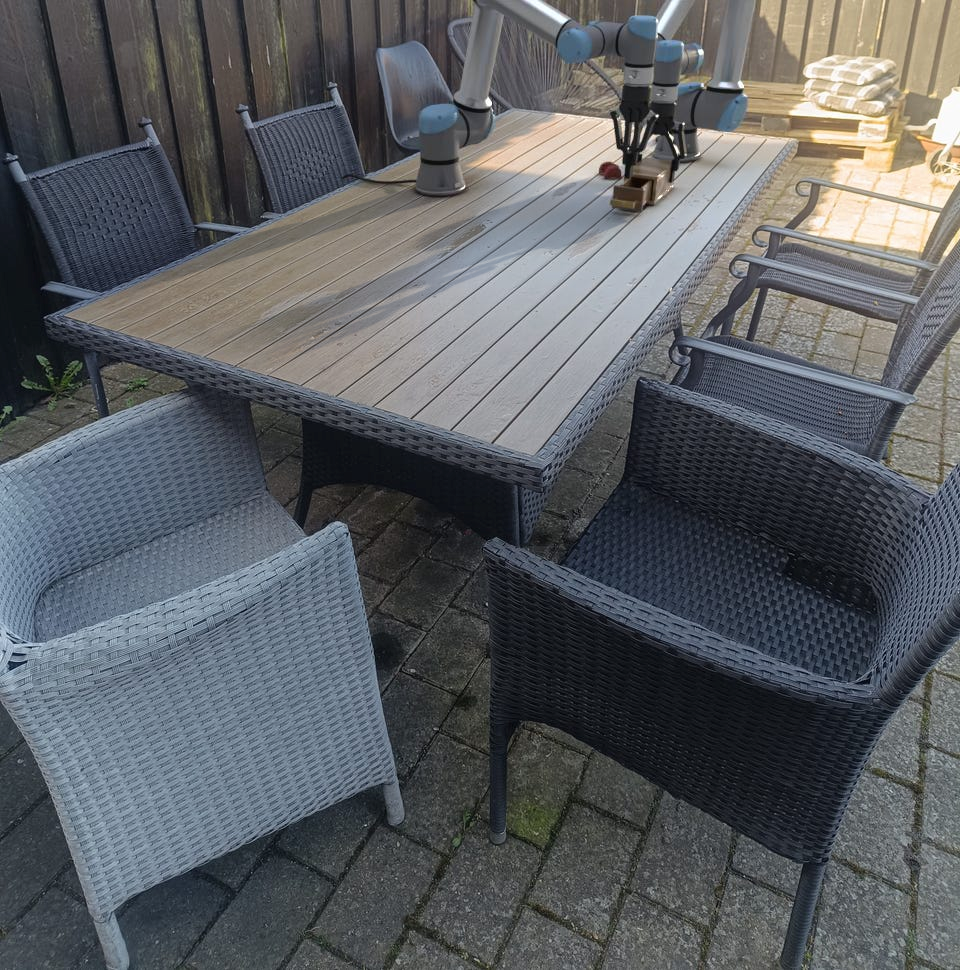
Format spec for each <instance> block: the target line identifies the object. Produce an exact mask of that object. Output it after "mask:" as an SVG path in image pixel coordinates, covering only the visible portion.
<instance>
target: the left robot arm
mask: <svg viewBox="0 0 960 970" xmlns="http://www.w3.org/2000/svg"><path fill="white" fill-rule="evenodd" d="M471 1H472V2H473V3H474V6H473V13H472V17H471V22H470V23H471V24H470V29H469V35H468V41H467V46H466V53H465V58H464V65H463V70H462V76H461V82H460V88H459V90H457V91H456V92H455V93H454V94H453V99H452V104H451V103H438V104H431V105H428V106H426V107H424V108H423V109H422V110H421V111H420V112H419V114H418V115H419V116H418V126H417V127H418V137H419V138H418V139H419V157H420V158H419V159H420V161H419V162H420V164H419V168H418V172H417V176H416V179H404V180H375V179H370V178H364V177H362V176H359V175H357V174H354V173H347V174H344V175H343V176H342V177H341V180H345V179H346V178H348V177H350V178H355V179H357V180H360V181H363V182H368V183H372V184H379V185H397V184H398V185H399V184H412V183H415V192H417V193H418V194H420V195H424V196H430V197H450V196H455V195H459V194H461V193H463V192H464V191H466V181H465V179H464V176H463V172H462V169H461V165H460V149H463V148H466V147H470V146H473V145H479V144H480V143H482V142H484V141H486V140H487V139H488V138H489V137H490V136H491V135H492V133H493V131H494V129H495V126H496V115H495V114H494V109H493V107H492V103H493V102H492V101H491V99H490V97H489V94H490V88H491V83H492V77H493V72H494V68H495V63H496V62H495V61H496V58H497V53H498V48H499V44H500V43H499V42H500V39H501V38H500V37H501V32H502V28H503V21H504V17H506V18H507V19H508V20H510V21H512V22H514V23H515V24H517V25H518V26H520V27H521V28H523V29H525V30H527V31H528V32H529V33H531V34H533V35H535V37H536V38H537V37H538V38H539V39H540V40H542V41H543V42H545V43H547V44H548V45H550V46H551V47H553V48H554V49H556V50H557V53H558V55H559V57H560V59H561V60H562V61H564V62H565V63H567V64H580V63H583V62H585V61H589V60H593V59H598V58H601V57H607V56H611V57H620V58H621V57H622V58H624V69H623V77H622V78H623V79H622V81H623V85H622V88H621V89H622V90H621V99H620V104H619V105H618V107H617V108H616V109H613V110H612V111H610V113H609V114H610V118H611V119H612V122H613V123H612V124H613V130H614V138H615V146H616V150H618V151H619V150H620V151H621V152H622V159H621V163H622V165H624V175H623V179H624V178H627V179H629V178H631V177H632V174H633V166H635V165H636V164H637V159H638V153H639V152H640V153H642V152H643V151H645V150H646V148H647V146H648V142H649V140H650V139H649V137H650V134H651V131H652V128H653V125H654V123H655V121H656V120H657V119H658V117H659V115H658V114H655V113H654V112H653V111H652V110H651V105H650V102H651V100H652V99H651V93H652V85H651V84H653V76H654V59H655V51H656V43H657V38H658V20H657V18H656V16H653V15H640V14H639V15H637V14H636V15H631V16H630V17H629V18H628V21H627V23H619V22H611V21H605V20H593V21H589V22H588V24H587V25H586V26H585V25H583V24H581V23H579V22H578V21H576V20H574V19H573V18H571V17H570V16H568V15H566V14H565V13H563V12H561V11H560V10H559V9H557V8H555V7H554V6H552V5H550V4H549V3H547V2H545V1H544V0H471ZM621 116H622V118H623V119H624V131H623V129H622V119H621ZM647 116H648V117H647ZM645 117H646V118H647V119H648V120H649V122H648V123H646V125H645V128H644V129H645V130H644V132H643V135H641V134H642V132H641V126H642V121H643V120H644V119H645ZM632 130H633V136H632ZM623 132H624V133H623ZM641 136H642V138H641ZM650 138H651V137H650ZM632 140H633V146H632V151H629V150H630V145H631V142H632ZM640 143H641V144H640ZM639 145H640V147H639Z"/></svg>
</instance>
